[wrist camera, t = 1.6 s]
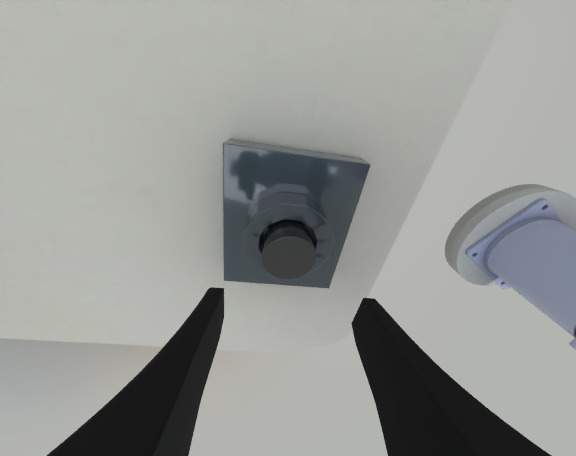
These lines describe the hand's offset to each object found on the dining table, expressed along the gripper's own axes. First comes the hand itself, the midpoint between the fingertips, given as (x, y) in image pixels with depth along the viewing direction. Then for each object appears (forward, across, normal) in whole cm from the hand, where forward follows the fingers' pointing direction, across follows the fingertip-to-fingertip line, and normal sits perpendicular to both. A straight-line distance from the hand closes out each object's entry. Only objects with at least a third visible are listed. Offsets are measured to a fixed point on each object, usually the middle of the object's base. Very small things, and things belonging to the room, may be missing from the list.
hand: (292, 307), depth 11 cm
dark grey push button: (+6, 0, 0) cm, 6 cm away
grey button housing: (+9, 0, 0) cm, 9 cm away
